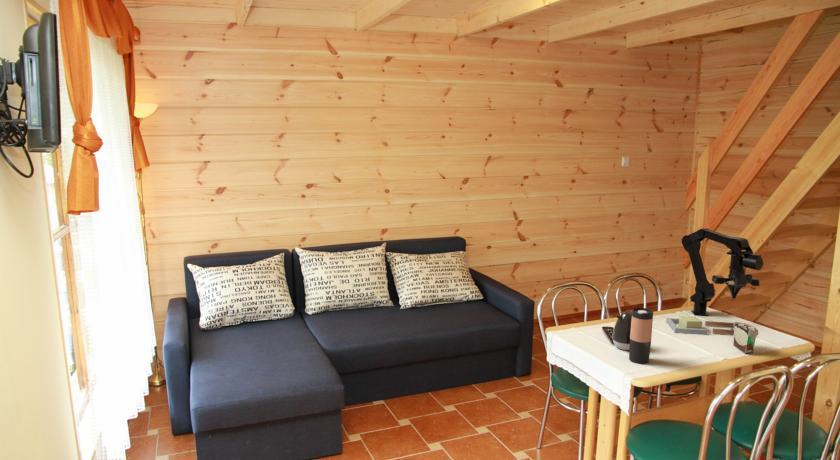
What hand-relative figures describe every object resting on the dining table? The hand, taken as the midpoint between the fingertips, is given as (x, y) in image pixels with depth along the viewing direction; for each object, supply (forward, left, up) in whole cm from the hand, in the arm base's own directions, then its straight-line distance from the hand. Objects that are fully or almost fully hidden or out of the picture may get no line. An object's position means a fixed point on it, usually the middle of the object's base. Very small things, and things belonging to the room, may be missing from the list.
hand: (733, 298), depth 270 cm
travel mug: (+55, -52, -12) cm, 76 cm away
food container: (+35, -6, -12) cm, 37 cm away
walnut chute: (+11, -5, -12) cm, 17 cm away
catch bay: (+11, -22, -12) cm, 27 cm away
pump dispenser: (+42, -55, -12) cm, 70 cm away
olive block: (+12, -21, -12) cm, 27 cm away
